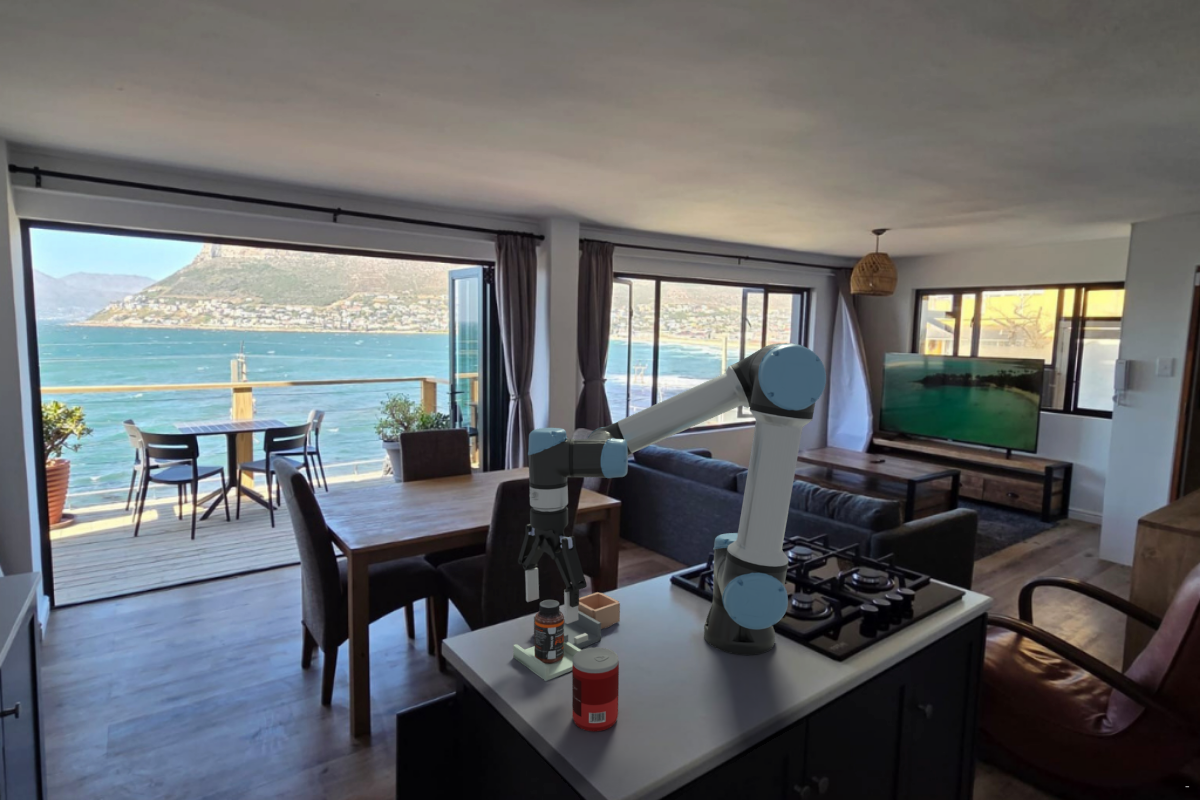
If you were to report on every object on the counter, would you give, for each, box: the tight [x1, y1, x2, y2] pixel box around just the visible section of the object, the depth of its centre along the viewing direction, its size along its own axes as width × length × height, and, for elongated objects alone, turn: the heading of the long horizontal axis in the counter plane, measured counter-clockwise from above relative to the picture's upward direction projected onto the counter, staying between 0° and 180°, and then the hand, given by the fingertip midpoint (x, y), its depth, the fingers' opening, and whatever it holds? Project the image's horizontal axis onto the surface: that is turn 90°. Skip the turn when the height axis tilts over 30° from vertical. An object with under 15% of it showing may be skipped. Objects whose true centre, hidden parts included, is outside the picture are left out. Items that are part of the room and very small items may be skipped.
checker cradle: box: [533, 611, 602, 650], centre depth 138 cm, size 12×10×4 cm
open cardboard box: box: [578, 591, 621, 630], centre depth 146 cm, size 8×8×5 cm
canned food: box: [571, 647, 620, 732], centre depth 108 cm, size 8×8×11 cm
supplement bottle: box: [534, 599, 565, 663], centre depth 127 cm, size 6×6×11 cm
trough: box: [512, 641, 582, 682], centre depth 127 cm, size 12×10×3 cm
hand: (551, 610), depth 127 cm, fingers open, 13 cm apart
